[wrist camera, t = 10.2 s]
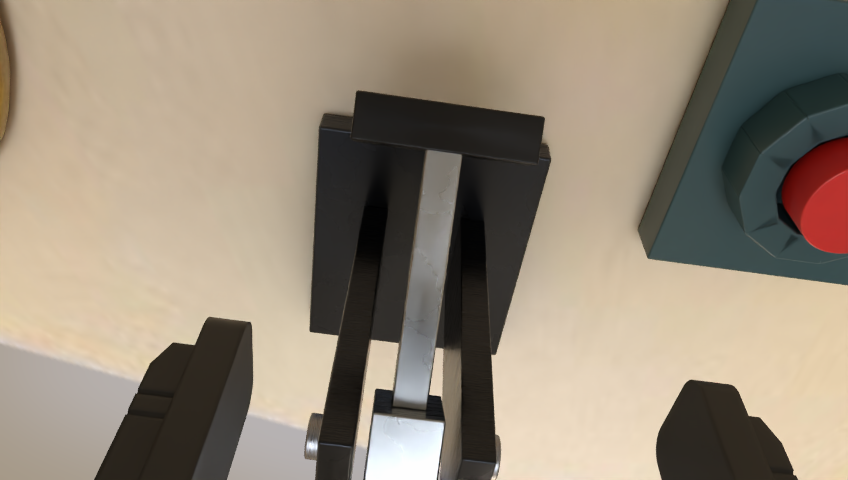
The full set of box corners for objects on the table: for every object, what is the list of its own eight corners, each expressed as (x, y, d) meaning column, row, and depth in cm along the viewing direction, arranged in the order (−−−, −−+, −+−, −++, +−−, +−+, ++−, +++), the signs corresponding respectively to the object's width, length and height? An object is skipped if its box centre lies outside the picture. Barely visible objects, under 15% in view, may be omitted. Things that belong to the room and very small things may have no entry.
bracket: (323, 112, 27) (240, 350, 17) (548, 144, 27) (602, 394, 17) (313, 315, 34) (249, 574, 23) (494, 338, 34) (510, 602, 24)
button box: (741, -30, 23) (786, 9, 20) (994, 9, 24) (1078, 54, 20) (637, 230, 30) (658, 291, 27) (836, 257, 30) (881, 320, 27)
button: (810, 128, 23) (833, 155, 21) (915, 144, 23) (944, 171, 21) (763, 217, 25) (781, 247, 23) (859, 230, 25) (883, 260, 24)
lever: (359, 97, 22) (355, 87, 19) (533, 121, 22) (549, 115, 20) (313, 463, 23) (303, 496, 20) (479, 482, 23) (489, 517, 21)
